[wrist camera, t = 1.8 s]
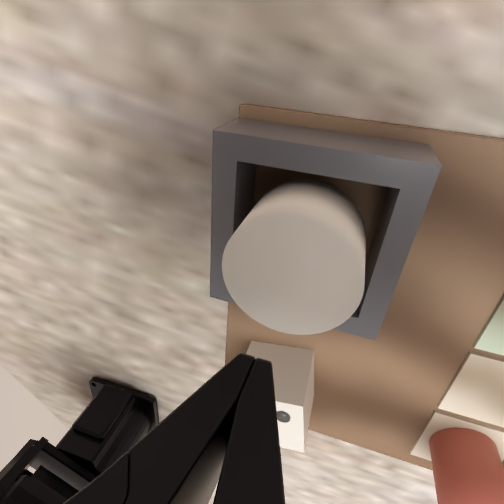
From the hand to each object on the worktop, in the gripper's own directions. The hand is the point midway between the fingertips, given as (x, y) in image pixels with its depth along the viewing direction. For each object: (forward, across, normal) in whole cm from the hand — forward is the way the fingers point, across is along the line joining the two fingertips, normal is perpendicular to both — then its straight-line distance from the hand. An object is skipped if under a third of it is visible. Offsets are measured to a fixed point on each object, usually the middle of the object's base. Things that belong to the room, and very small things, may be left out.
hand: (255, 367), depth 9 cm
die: (+10, 0, +11) cm, 15 cm away
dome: (+7, 0, 0) cm, 7 cm away
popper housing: (+10, 0, 0) cm, 10 cm away
